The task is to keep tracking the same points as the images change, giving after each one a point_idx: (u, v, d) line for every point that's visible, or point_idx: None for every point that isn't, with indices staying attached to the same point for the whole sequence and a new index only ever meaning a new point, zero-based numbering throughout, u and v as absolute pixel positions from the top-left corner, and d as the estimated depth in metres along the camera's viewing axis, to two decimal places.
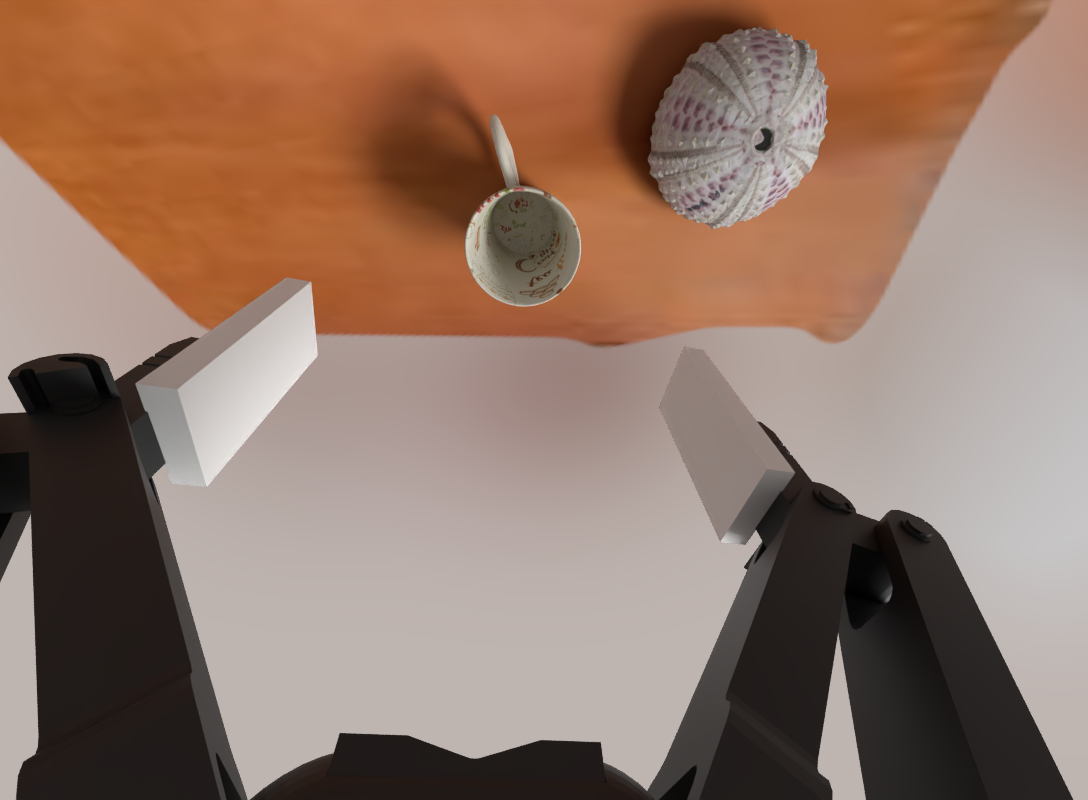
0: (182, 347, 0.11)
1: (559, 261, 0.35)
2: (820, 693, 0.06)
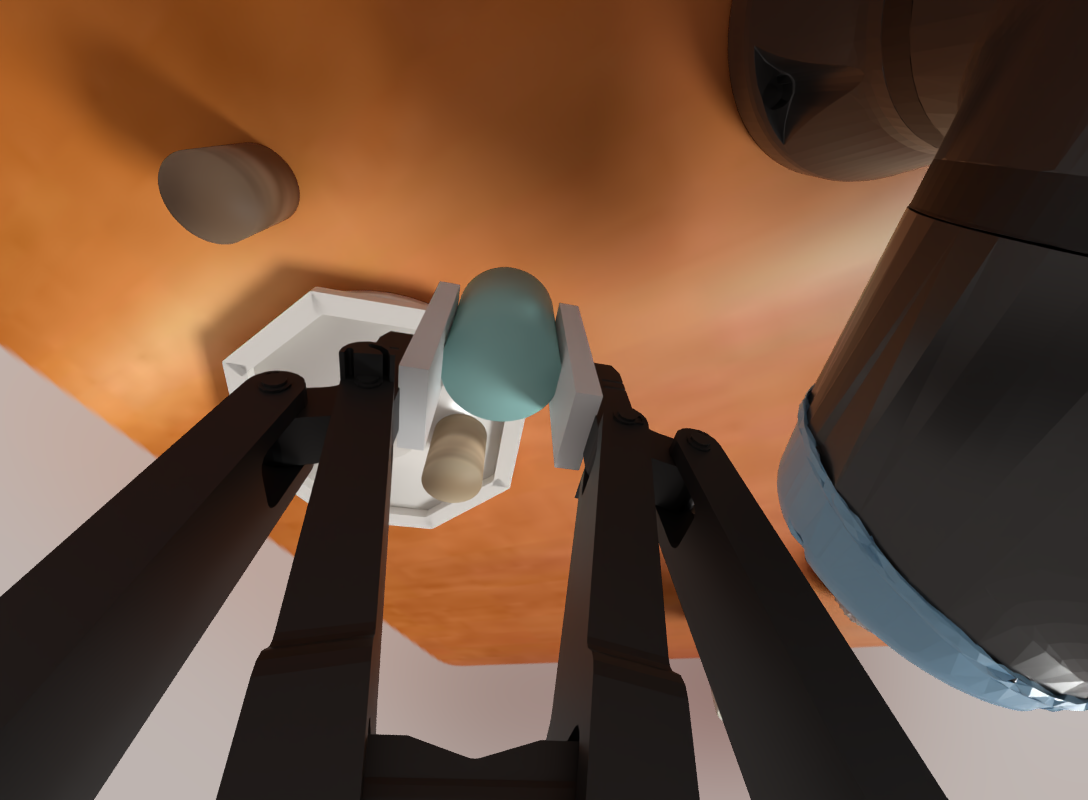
0: (389, 338, 0.13)
1: None
2: (657, 596, 0.07)
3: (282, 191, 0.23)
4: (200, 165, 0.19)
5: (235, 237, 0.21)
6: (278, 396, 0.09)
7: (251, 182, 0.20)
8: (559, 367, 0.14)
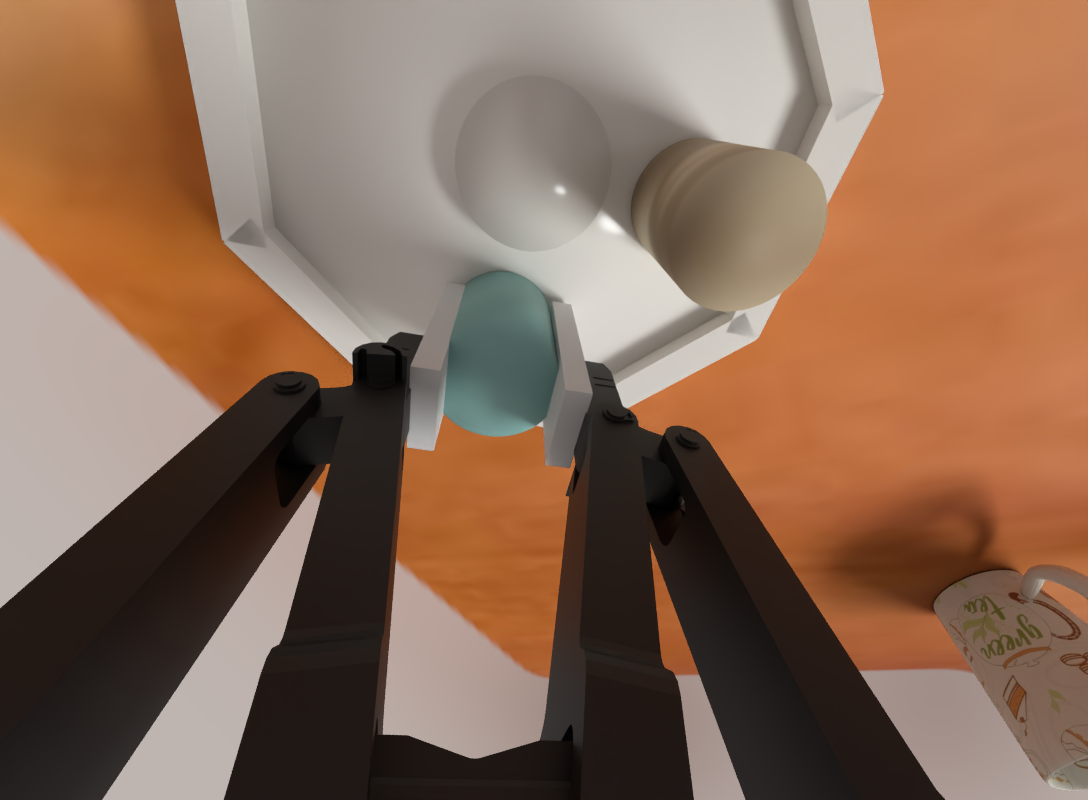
0: (399, 339, 0.13)
1: None
2: (649, 593, 0.07)
3: None
4: None
5: None
6: (292, 397, 0.09)
7: None
8: None
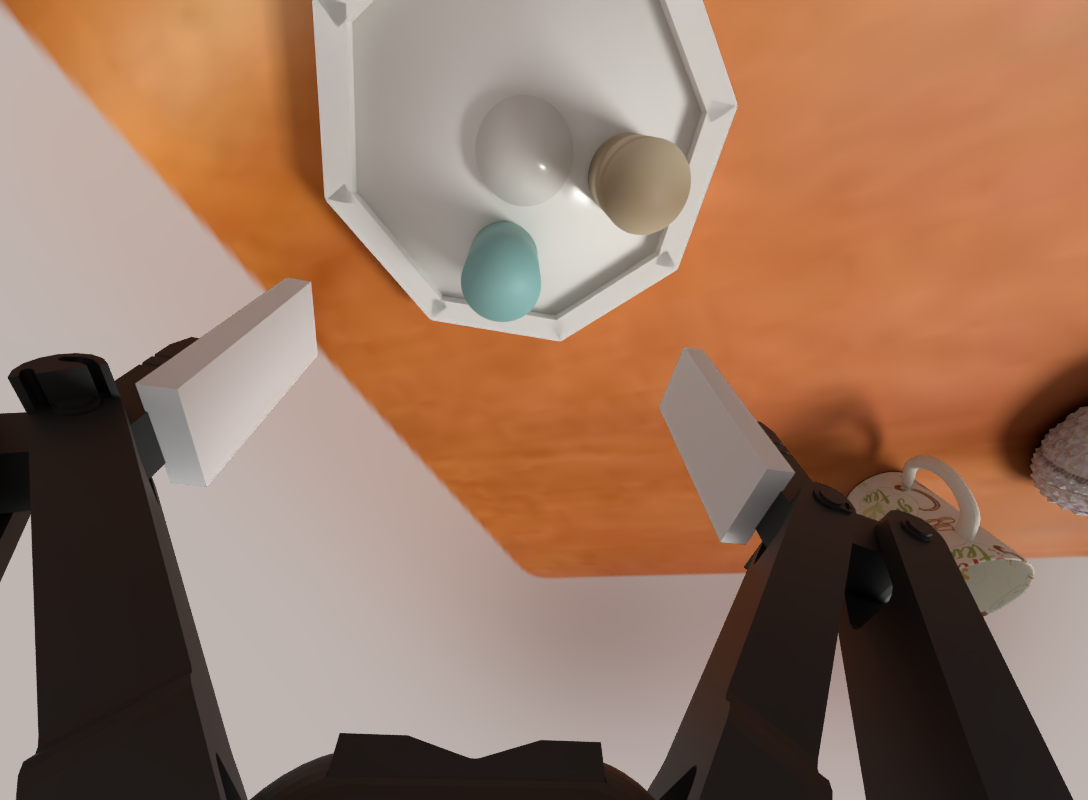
0: (182, 347, 0.11)
1: None
2: (820, 693, 0.06)
3: None
4: None
5: None
6: None
7: None
8: (539, 280, 0.22)
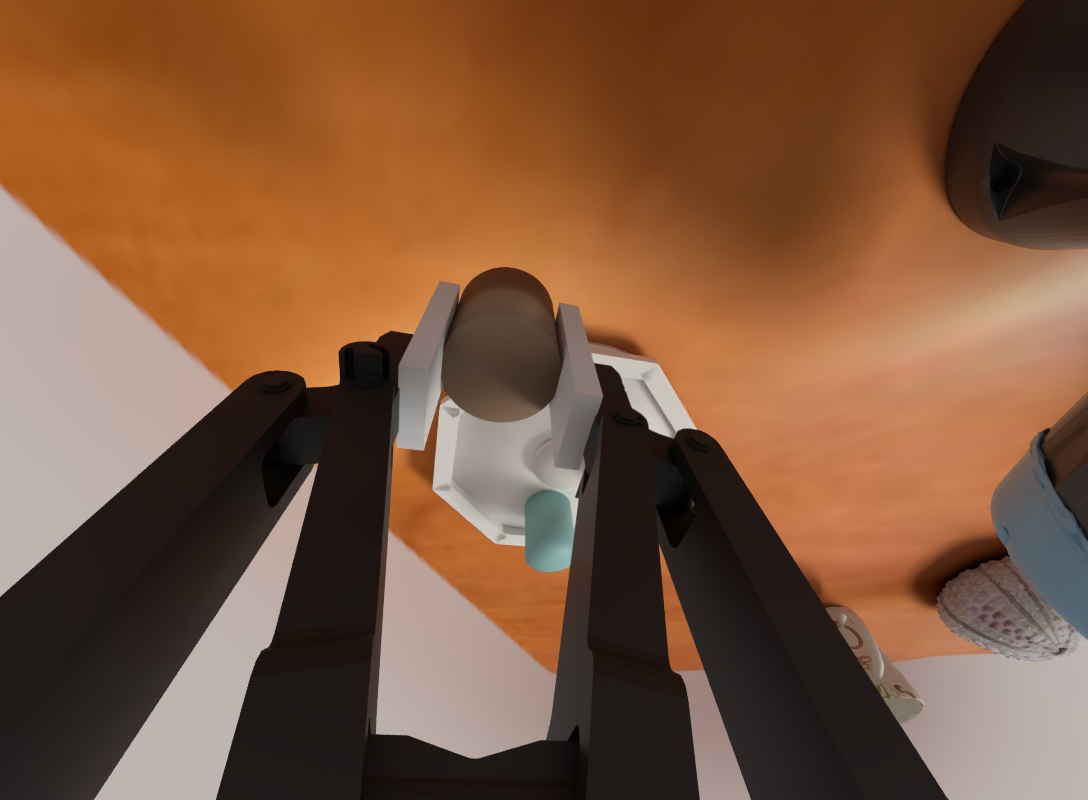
0: (389, 338, 0.13)
1: None
2: (657, 596, 0.07)
3: None
4: (507, 335, 0.14)
5: (521, 414, 0.15)
6: (278, 396, 0.09)
7: (557, 346, 0.15)
8: None
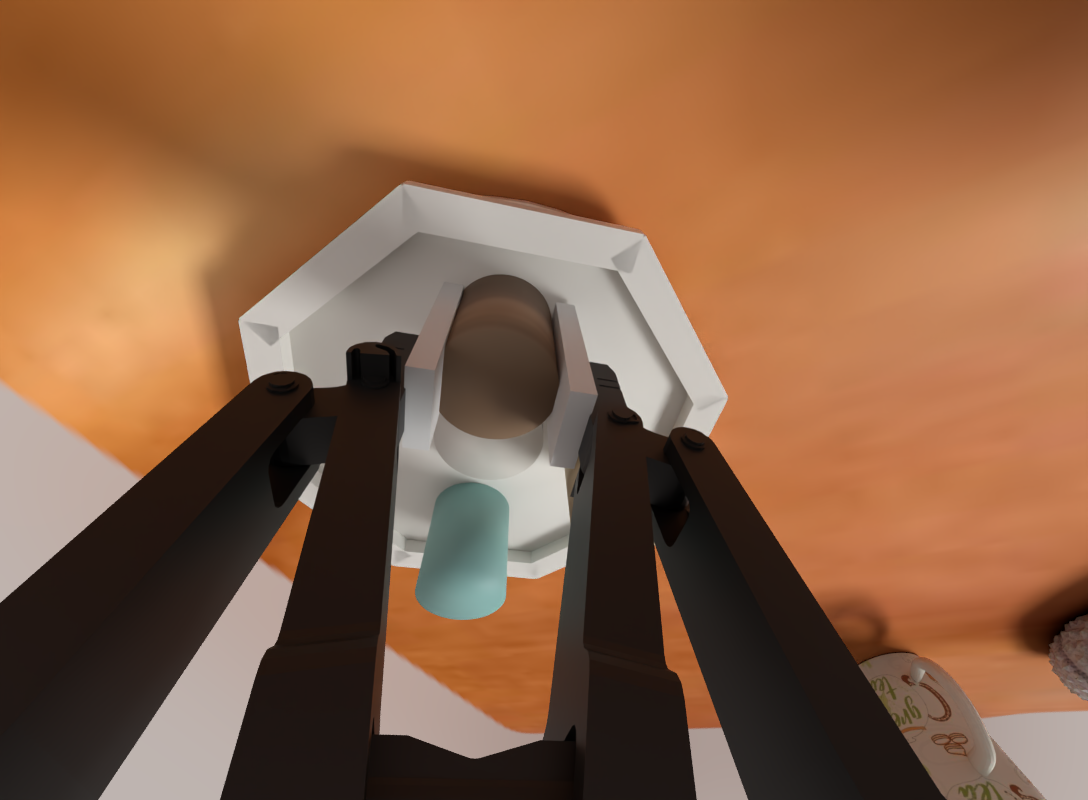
0: (394, 339, 0.13)
1: None
2: (653, 594, 0.07)
3: None
4: (501, 349, 0.13)
5: (516, 431, 0.14)
6: (285, 396, 0.09)
7: (555, 360, 0.14)
8: (503, 591, 0.19)
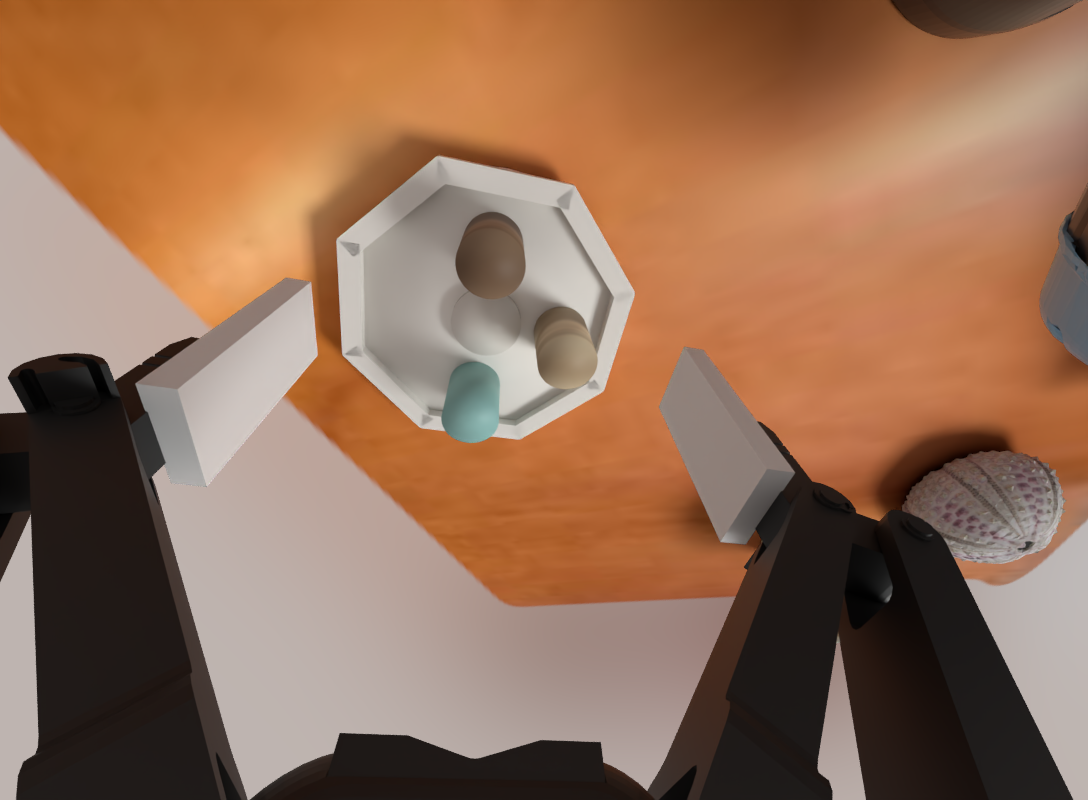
0: (182, 347, 0.11)
1: None
2: (820, 693, 0.06)
3: None
4: (493, 240, 0.24)
5: (503, 293, 0.26)
6: None
7: (523, 250, 0.25)
8: (497, 417, 0.31)
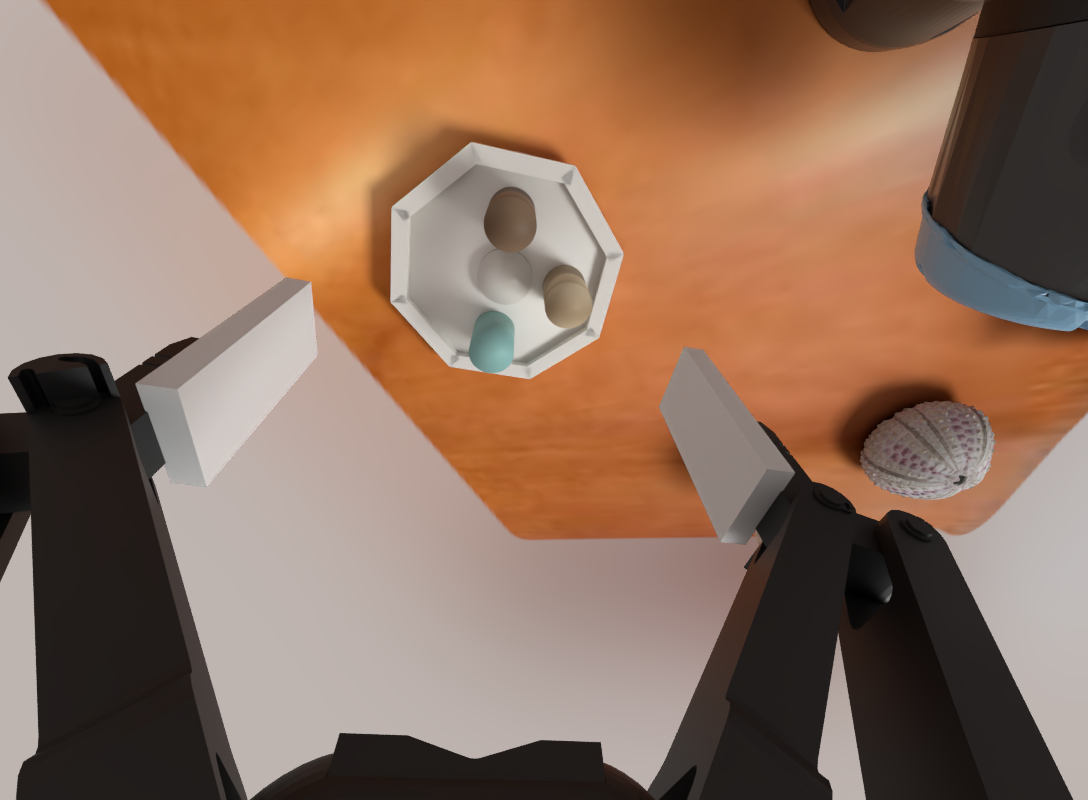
0: (181, 346, 0.11)
1: None
2: (820, 693, 0.06)
3: None
4: (513, 205, 0.32)
5: (519, 248, 0.34)
6: None
7: (535, 214, 0.33)
8: (512, 351, 0.39)
